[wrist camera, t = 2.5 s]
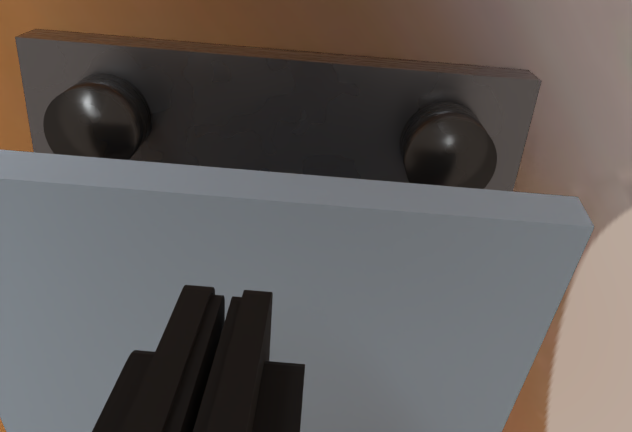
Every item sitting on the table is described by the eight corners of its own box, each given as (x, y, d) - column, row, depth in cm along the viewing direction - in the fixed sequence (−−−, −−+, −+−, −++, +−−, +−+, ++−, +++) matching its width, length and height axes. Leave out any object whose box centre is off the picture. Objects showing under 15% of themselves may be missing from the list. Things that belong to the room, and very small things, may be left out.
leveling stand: (35, 29, 21) (-78, 73, 15) (528, 70, 21) (599, 129, 16) (94, 436, 31) (39, 557, 25) (432, 463, 31) (453, 588, 25)
